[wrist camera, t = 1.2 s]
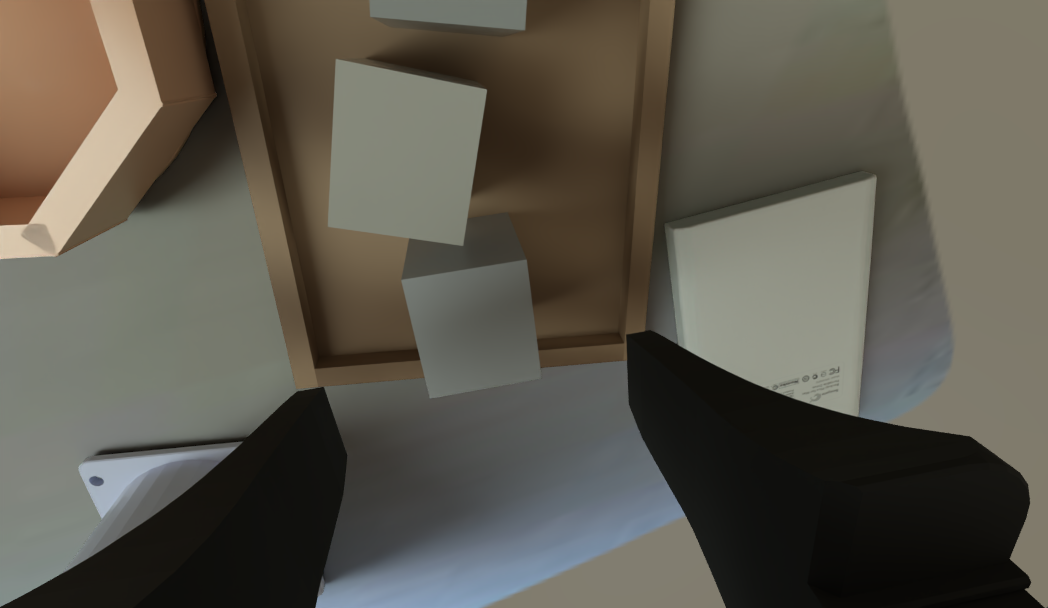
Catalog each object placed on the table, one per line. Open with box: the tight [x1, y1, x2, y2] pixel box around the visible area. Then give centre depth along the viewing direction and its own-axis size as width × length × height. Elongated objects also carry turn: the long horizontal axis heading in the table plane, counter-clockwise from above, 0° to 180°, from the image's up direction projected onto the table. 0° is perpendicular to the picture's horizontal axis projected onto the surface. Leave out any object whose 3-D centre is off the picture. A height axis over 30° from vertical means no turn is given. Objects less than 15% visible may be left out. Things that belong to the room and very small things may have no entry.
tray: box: [204, 0, 675, 389], centre depth 18 cm, size 18×14×1 cm
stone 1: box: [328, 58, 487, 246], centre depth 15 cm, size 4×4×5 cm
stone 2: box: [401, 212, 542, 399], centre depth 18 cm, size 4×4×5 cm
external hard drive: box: [664, 171, 877, 417], centre depth 23 cm, size 2×8×12 cm
